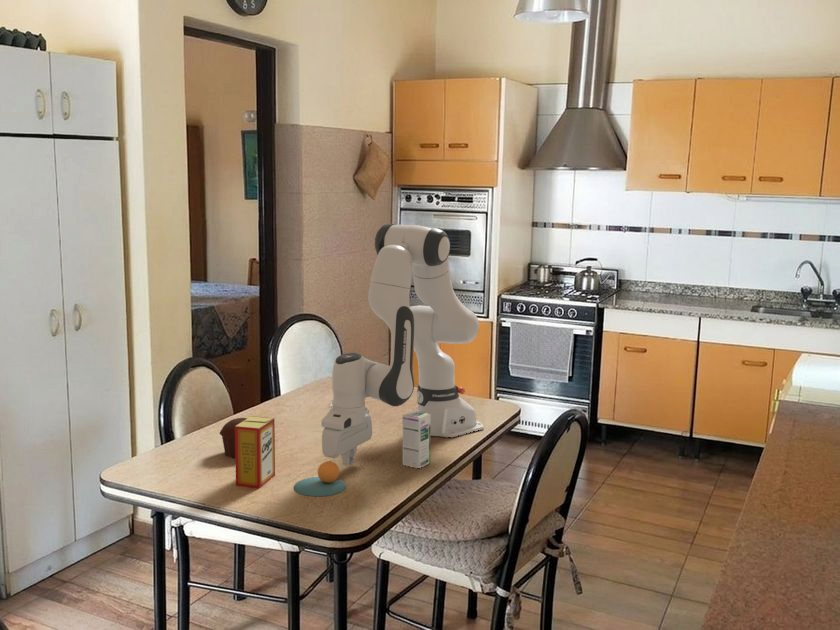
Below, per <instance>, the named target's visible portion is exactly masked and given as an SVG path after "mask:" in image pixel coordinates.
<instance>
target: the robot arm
mask: <svg viewBox="0 0 840 630" xmlns="http://www.w3.org/2000/svg"><path fill="white" fill-rule="evenodd" d="M374 249H375V253H376V254H377V257H376V259H375V262H374V266H373V268H372V272H371V277H370V282H369V285H368V286H369V288H368V293H367V295H368V296H367V300H368V305H369V307H370V309H371V310H372V312H373V313H374V314H375V315H376V316H377V317H378V318H379V319H381V321H383V322H384V323H385V324H386V325H387V327H388V329H389V330H390V334H391V348H390V349H391V350H390V364H389V365H388V364H384V363H381V362H376V361H373V360H371V359H369V358H365V357H364V356H363V355H362V354H361V353H358V352H346V353H343V354H340V355H339V356H337V357H336V358H335V360H334V362H333V366H332V372H331V373H332V374H331V390H332V393H333V396H332V401H331V404H332V407H330V409H329V411H328V412H327V413H326V415H325V416H324V417H323V418H322V419H321V427H322V428H323V430H322V433H321V434H322V435H321V450H322V451H321V452H322V454H323V456H324V457H326V458H329V459H337V458H338V457H340V456H341V459H342V465H343V466H345V467H348V466H350V465H353V464H354V463H355V455H356V452H357V447H358V446H360V445H362V444H364V443H366V442H368V441H369V440H371V439H372V436H373V424H372V416H371V415H370V412H369V411H370V410H369V409H368V408H367V407H366V398H371V399H374V400H377V401H380V402H383V403H385V404H387V405H390V406H392V407H400V406H402V405H404V404H405V403H407V401H408V400H410V398H411V397H412V395H413V393H414V389H415V378H414V370H413V369H414V368H413V365H414V364H413V363H414V362H413V361H414V352H415V355H416V358H417V363H418V384H417V388H416V389H417V391H416V392H417V393H416V397H417V398H416V399H417V407H416V409H417V410H416V411H423V412H427V413H430V414H431V436H432V437H443V438H448V437H451V438H454V437H458V435H459V436H463V435H466V433H467V434H471V433H474V432H473V431H475V432H479V431H481V430H484V429H483V428H484V424H483V423H482V422H481V421H479V420H477V414H476V411H475V408H474V407H473V406H472V405H470V404H469V403H468V402H467V401H465V400H464V399H463V398H462V397H461V396H460V395H459V394H461V395H464V394H465V393H466V389H465V387H462V386H458V385H456V384H455V376H456V375H455V374H456V373H455V371H456V370H455V368H456V367H455V366H456V365H455V362H454V360H453V358H452V357H451V356H450V355H449V354H446V352H444V351H442V350H441V348H440V346H439V344H442V343H443V344H453V345H459V344H468V343H472V342H473V341H474V340H475V339H476V337H477V336H478V334H479V332H480V331H479V330H480V322H479V319H478V316H477V315H476V313H474V311H473V310H471V309H469V308H467V306H466V305H464V304H463V303H462V301H461V300H460V299H459V298H458V296H457V295H456V292H455V291H454V288H453V283H452V278H451V272H450V264H449V259H448V258H449V255H450V252H451V251H450V250H451V240H450V237H449V236H448V234H447V233H446V232H445V231H444V230H442V229H440V228H436V227H428V226H423V225H418V224H397V223H388V224H383V225H382V226H381V227H380V228H379V229H378V230H377V231H376V233H375V237H374ZM412 278H413V285H414V286H413V287H414V292H415V294H416V297H417V298H418V299H419V300H420V301H421V302H422V303H424V304H426V305H421V304H419V305H412V306H411V303H410V292H411V286H412ZM478 430H479V431H478ZM470 432H471V433H470Z"/></svg>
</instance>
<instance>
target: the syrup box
mask: <svg viewBox="0 0 840 630" xmlns="http://www.w3.org/2000/svg"><path fill="white" fill-rule="evenodd" d="M431 438H432V437H431V414H430V413H427V412H423V411H417V410H412V411H411V412H408V413H406V414H403V415H402V465H403V466H405V465H406V467H408V466H412V467H416V468H415V469H417V468H420V469H422V468H423V467H425V466H427V465H430V464H431ZM429 463H430V464H429ZM412 467H411V468H412ZM421 467H422V468H421Z"/></svg>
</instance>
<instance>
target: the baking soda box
mask: <svg viewBox="0 0 840 630" xmlns="http://www.w3.org/2000/svg"><path fill="white" fill-rule="evenodd" d="M247 418H248V419H246V420H244V421H243V422H241V423H239V424H238V425H236V426H235V458H234V460H235V461H234V462H235V486H236V487H244V488H251V489H252V488H253V489H261V488H262V487H263V486H265V485H266V484H267V483H269V481H270V480H272V479H273V478H274V477H276V454H275V453H276V444H275V443H276V441H275V440H276V439H275V437H276V436H275V435H276V434H275V429H276V428H275V418H274V417H265V416H264V417H263V416H253V415H251V416H248V417H247ZM271 478H272V479H271Z"/></svg>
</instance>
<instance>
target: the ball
mask: <svg viewBox="0 0 840 630" xmlns="http://www.w3.org/2000/svg"><path fill="white" fill-rule="evenodd" d="M339 476H340V469H339V466H338V465H337V463H335V461H334V462H333V461H331V460H328V461H327V460H326V461H324V462H322V463H321V464H320V465H319V467H318V468H317V477H319V478H320V480H322V481H323V482H325V483H331V482H334V481H335V480H336V479H339Z"/></svg>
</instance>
